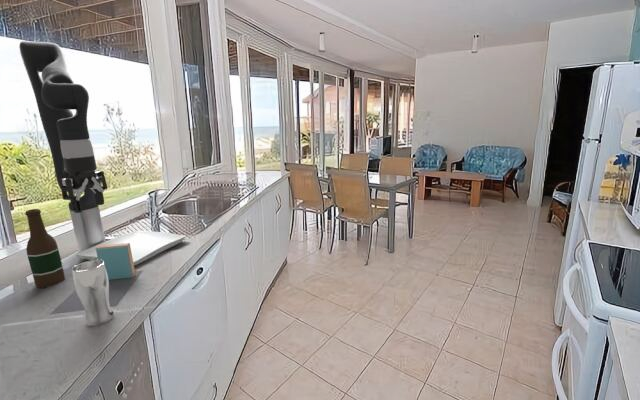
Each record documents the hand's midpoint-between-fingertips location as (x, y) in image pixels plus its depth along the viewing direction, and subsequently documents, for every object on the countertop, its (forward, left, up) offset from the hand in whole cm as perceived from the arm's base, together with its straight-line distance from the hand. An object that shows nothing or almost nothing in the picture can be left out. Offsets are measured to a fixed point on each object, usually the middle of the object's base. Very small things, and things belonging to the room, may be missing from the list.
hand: (90, 208), depth 100 cm
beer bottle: (-1, -16, -24) cm, 29 cm away
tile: (+2, +5, -23) cm, 24 cm away
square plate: (-22, +2, -24) cm, 33 cm away
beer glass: (+25, +9, -24) cm, 35 cm away
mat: (+9, +3, -23) cm, 25 cm away
